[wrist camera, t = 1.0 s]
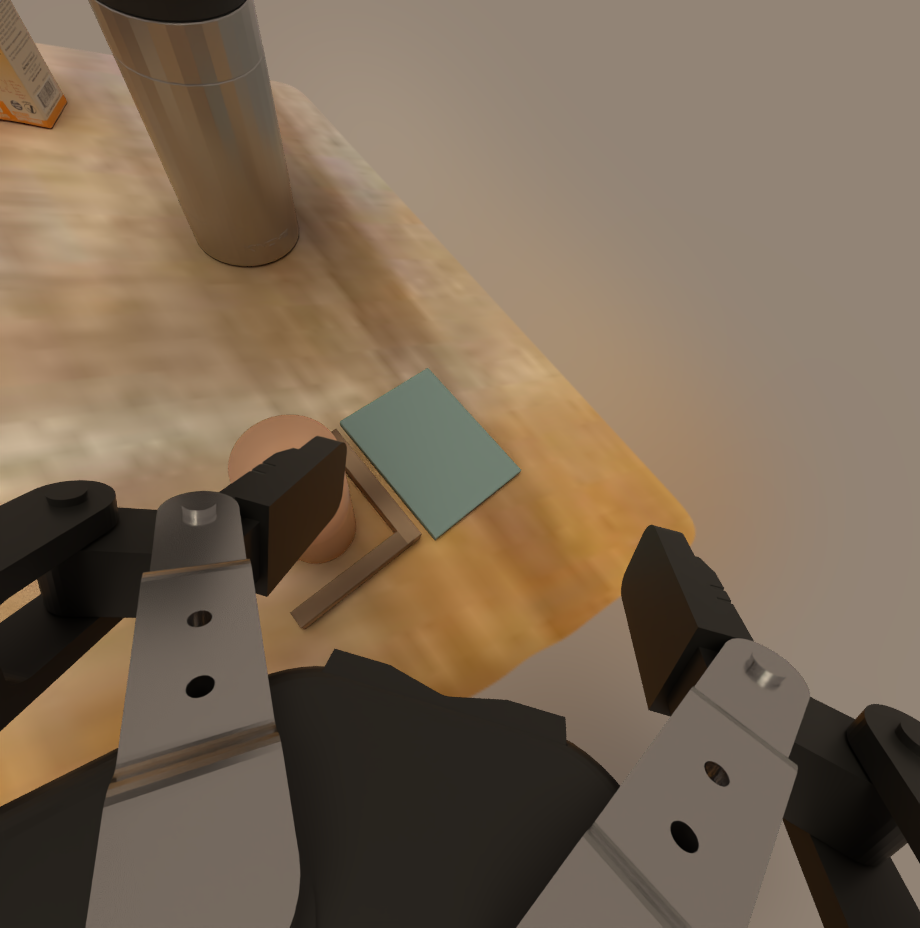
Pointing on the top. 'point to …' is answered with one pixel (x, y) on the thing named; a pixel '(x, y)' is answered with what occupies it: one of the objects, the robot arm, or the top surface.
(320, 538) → the tall tan cylinder
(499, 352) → the top surface
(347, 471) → the holder
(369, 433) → the mat
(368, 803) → the robot arm
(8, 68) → the supplement box
